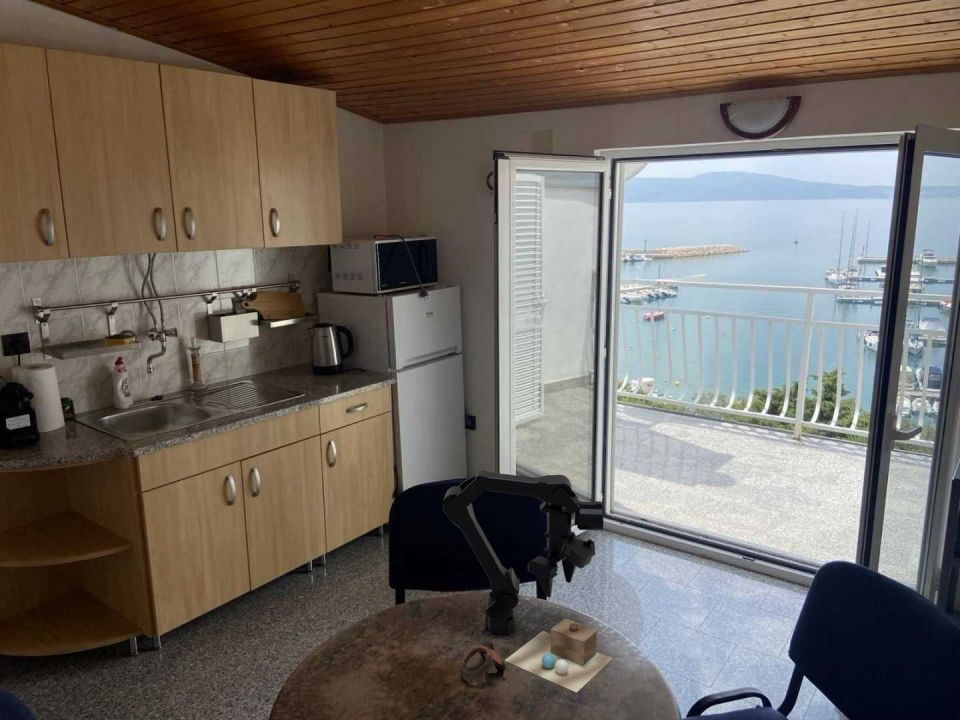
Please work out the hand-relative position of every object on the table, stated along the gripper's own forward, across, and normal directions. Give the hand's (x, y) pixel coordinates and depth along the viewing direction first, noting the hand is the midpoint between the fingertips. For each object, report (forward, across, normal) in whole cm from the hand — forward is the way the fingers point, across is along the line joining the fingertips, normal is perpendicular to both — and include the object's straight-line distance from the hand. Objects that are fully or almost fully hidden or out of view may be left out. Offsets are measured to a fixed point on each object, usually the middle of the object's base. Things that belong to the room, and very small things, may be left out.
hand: (558, 589), depth 171 cm
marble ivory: (+11, -14, -10) cm, 20 cm away
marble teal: (+11, -14, -6) cm, 19 cm away
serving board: (+12, -10, -6) cm, 17 cm away
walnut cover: (+11, -6, -8) cm, 15 cm away
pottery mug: (+12, -24, +4) cm, 27 cm away
